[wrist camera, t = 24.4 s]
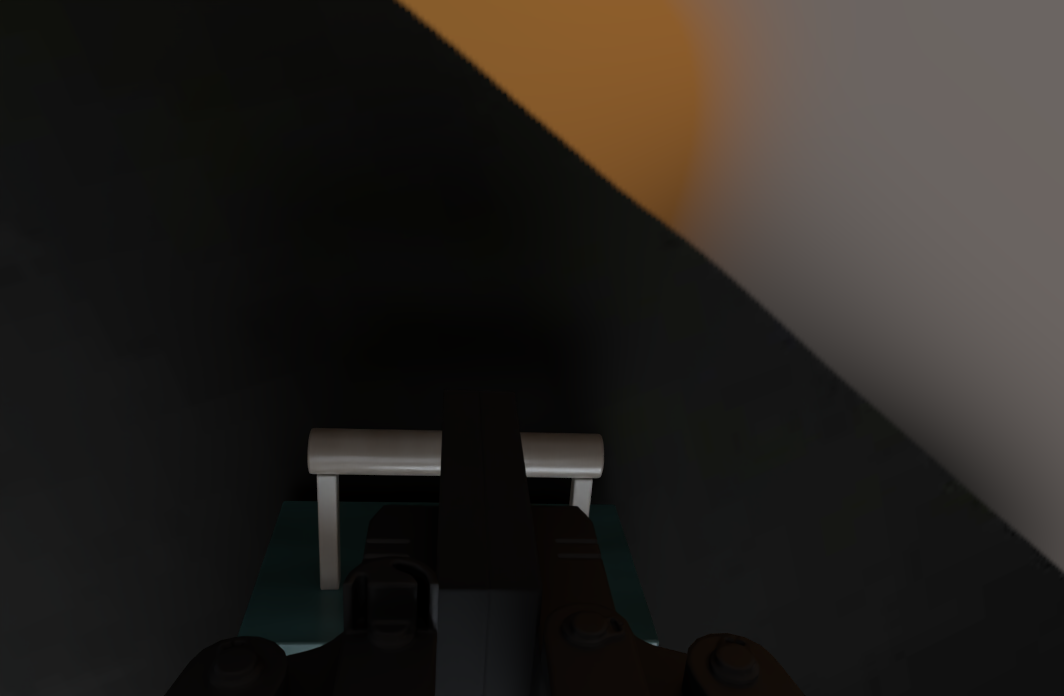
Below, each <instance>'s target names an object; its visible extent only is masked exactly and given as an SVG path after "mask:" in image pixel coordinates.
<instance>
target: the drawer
mask: <svg viewBox="0 0 1064 696" xmlns="http://www.w3.org/2000/svg"><path fill="white" fill-rule="evenodd" d="M520 434H521V441H522V448H523V455H524V462H525V469H526V476H527V477H552V478H572V481H571V491H570V501H569V504H531V505H554V506H578V507H579V508H580V509H581V510H582V511H583V512H584V513H585V514H586V515H587V516H588V518H589V519H590V520H591V521H592V522H593V525H594V529H595V533H596V537H597V544H599V548H600V552H601V559H602V560H603V564H604V567H605V571H606V575H607V579H608V583H609V587H610V591H611V594H612V598H613V602H614V606H615V610H616V612H617V613H618V614H620V615H621V616H622V617H623V618H625V619H626V620H627V622H628V624H629V626H630V628H631V629H632V631H633V634H634V635H635V636H636V637H638V638H640V639H642V640H644V641H645V642H647V643H649V644H652V645H655V646H658V645H659V640H658V637H657V634H656V631H655V628H654V624H653V621H652V618H651V615H650V612H649V609H648V606H647V603H646V600H645V597H644V594H643V590H642V587H641V584H640V581H639V578H638V575H637V572H636V569H635V566H634V563H633V560H632V556H631V553H630V550H629V547H628V544H627V541H626V538H625V535H624V532H623V529H622V526H621V522H620V519H619V516H618V513H617V510H616V507H615V505H606V504H590V501H591V492H592V483H593V480H592V478H599V477H601V475H602V472H603V466H604V445H603V440H602V437H601V435H600V434H587V433H538V432H520ZM441 446H442V431H439V430H390V429H341V428H313V429H311V432H310V435H309V440H308V450H307V464H308V470H309V473H311V474H317V500H318V501H284V502H283V504H282V507H281V510H280V513H279V516H278V519H277V522H276V525H275V528H274V531H273V534H272V536H271V539H270V542H269V545H268V548H267V551H266V554H265V557H264V560H263V563H262V566H261V569H260V572H259V575H258V578H257V580H256V583H255V586H254V589H253V592H252V595H251V598H250V601H249V604H248V607H247V610H246V613H245V616H244V619H243V622H242V624H241V627H240V630H239V633H238V636H259V637H262V638H265V639H268V640H271V641H274V642H275V643H276V644H278V645H279V646H280V647H281V648H282V649H283V650H284V651H285V654H286V656H287V655H292V654H296V653H300V652H304V651H308V650H311V649H314V648H317V647H320V646H322V645H324V644H326V643H328V642H330V641H331V640H333V639H334V638H336V637H337V636H338V635H339V634H341V633H342V632H343V631H344V621H343V583H344V581H345V579H346V577H347V575H348V573H349V572H350V571H352V570H353V569H354V568H356V567H357V566H358V565H359V564H361V563H362V560H363V554H364V549H365V543H366V537H367V532H368V526H369V521H370V520H371V519H372V518H373V516H374V515H375V514H376V513H377V512H378V511H379V510H380V509H381V508H382V506H383V505H425V506H439V503H426V502H339V474H345V475H414V476H440V470H441ZM238 636H237V637H238Z"/></svg>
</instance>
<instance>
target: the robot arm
mask: <svg viewBox="0 0 1064 696" xmlns="http://www.w3.org/2000/svg"><path fill="white" fill-rule="evenodd" d="M343 621H344V631H343V632H342V633H341V634H339V635H338V636H337V637H336V638H334V639H333V640H331V641H330V642H328V643H326V644H324V645H322V646H320V647H317V648H314V649H311V650H308V651H304V652H300V653H296V654H292V655H287V656H286V654H285V651H284V650H283V649H282V648H281V647H280V646H279V645H278V644H276V643H275V642H274V641H271V640H268V639H265V638H262V637H259V636H238V637H234V638H229V639H225V640H221V641H219V642H217V643H215V644H213V645H211V646H209V647H207V648H205V649H203V650H202V651H201V652H200V653H199V654H198V655H197V656H196V657H194V658H193V659H192V660H191V661H190V662H189V664H188V665H187V666H186V668H185V669H184V670H183V672H182V673H181V674H180V675H179V677H178V678H177V679H176V681H175V682H174V683H173V685H172V686H171V687H170V689H169V690H168V691H167V693H166V694H165V695H164V696H805V695H804V694H803V692H802V691H801V690H800V689H799V687H798V686H797V685H796V684H795V682H794V681H793V680H792V679H791V678H790V676H789V675H788V674H787V673H786V671H785V670H784V669H783V668H782V666H781V665H780V664H779V663H778V662H777V660H776V659H775V658H774V657H773V656H772V655H771V654H770V653H769V652H768V651H767V650H765V649H764V648H763V647H762V646H761V645H759V644H757V643H755V642H753V641H751V640H749V639H747V638H745V637H741V636H737V635H732V634H728V633H721V634H709V635H706V636H703V637H701V638H698V639H696V641H695V642H694V643H693V644H692V645H691V646H690V647H689V649H688V654H686V653H682V652H678V651H674V650H670V649H665V648H662V647H659V646H655V645H652V644H649V643H647V642H645V641H644V640H642V639H640V638H638V637H636V636H635V635H634V634H633V631H632V629H631V628H630V626H629V624H628V622H627V620H626V619H625V618H623V617H622V616H621V615H620V614H618V613H617V612H616V610H615V606H614V602H613V598H612V594H611V591H610V587H609V583H608V579H607V575H606V571H605V567H604V564H603V560H602V559H601V552H600V548H599V544H597V537H596V533H595V529H594V525H593V522H592V521H591V520H590V519H589V518H588V516H587V515H586V514H585V513H584V512H583V511H582V510H581V509H580V508H579V507H578V506H554V505H531V504H530V497H529V490H528V483H527V476H526V469H525V462H524V455H523V448H522V441H521V434H520V427H519V420H518V413H517V406H516V399H515V392H506V391H471V390H444V398H443V422H442V446H441V470H440V494H439V506H425V505H383V506H382V508H381V509H380V510H379V511H378V512H377V513H376V514H375V515H374V516H373V518H372V519H371V520H370V521H369V526H368V532H367V537H366V543H365V549H364V554H363V560H362V563H361V564H359V565H358V566H357V567H356V568H354V569H353V570H352V571H350V572H349V573H348V575H347V577H346V579H345V581H344V583H343Z"/></svg>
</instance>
